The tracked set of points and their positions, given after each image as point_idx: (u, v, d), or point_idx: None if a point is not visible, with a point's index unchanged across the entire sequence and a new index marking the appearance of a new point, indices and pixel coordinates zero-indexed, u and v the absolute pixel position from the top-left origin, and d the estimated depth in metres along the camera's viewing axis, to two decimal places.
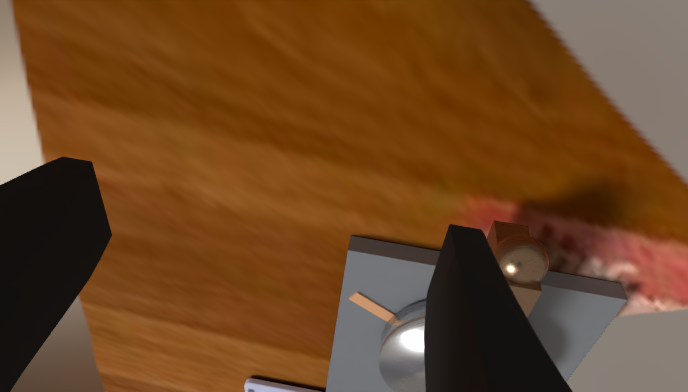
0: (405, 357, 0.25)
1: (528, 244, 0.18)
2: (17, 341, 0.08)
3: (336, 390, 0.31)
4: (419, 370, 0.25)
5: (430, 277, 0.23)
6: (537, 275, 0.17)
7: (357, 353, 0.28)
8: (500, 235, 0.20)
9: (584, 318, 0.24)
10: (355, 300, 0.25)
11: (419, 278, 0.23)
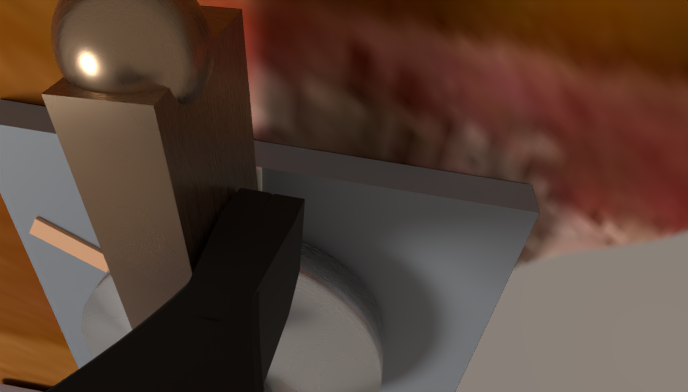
0: None
1: None
2: None
3: None
4: None
5: None
6: (130, 55, 0.06)
7: None
8: None
9: (463, 258, 0.12)
10: (41, 235, 0.13)
11: None
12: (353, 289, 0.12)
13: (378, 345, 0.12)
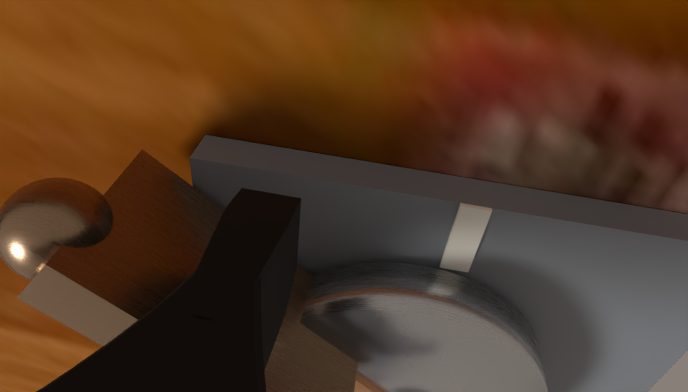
0: None
1: (3, 204, 0.09)
2: None
3: None
4: None
5: (363, 215, 0.11)
6: (22, 245, 0.08)
7: None
8: None
9: (676, 297, 0.12)
10: None
11: (341, 218, 0.12)
12: (414, 278, 0.11)
13: (479, 314, 0.11)
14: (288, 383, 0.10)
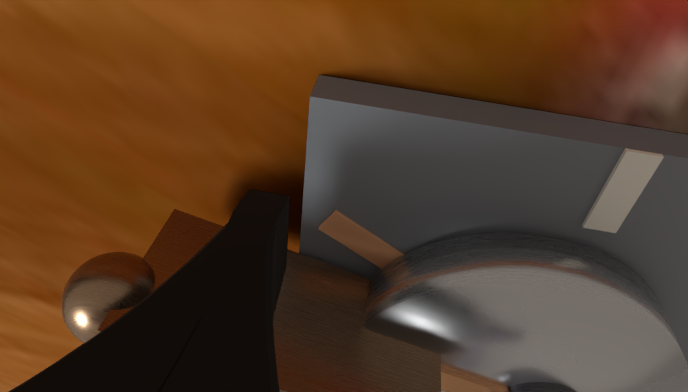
0: None
1: None
2: None
3: None
4: None
5: (504, 165, 0.10)
6: (80, 319, 0.09)
7: None
8: None
9: None
10: (332, 231, 0.12)
11: (477, 169, 0.10)
12: (464, 249, 0.11)
13: (544, 267, 0.10)
14: (359, 390, 0.10)
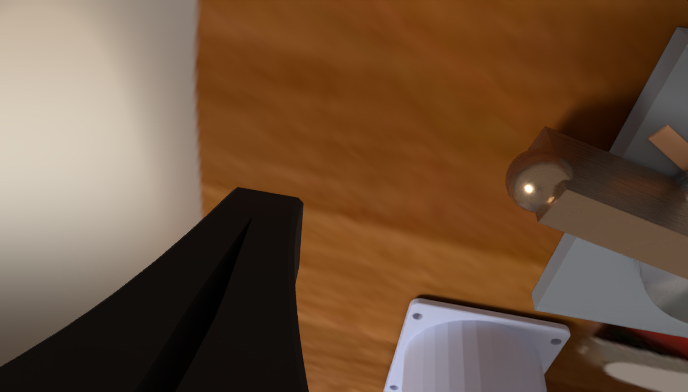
0: None
1: (510, 172, 0.15)
2: None
3: (552, 307, 0.22)
4: None
5: None
6: (543, 185, 0.14)
7: None
8: None
9: None
10: (658, 141, 0.17)
11: None
12: None
13: None
14: None
